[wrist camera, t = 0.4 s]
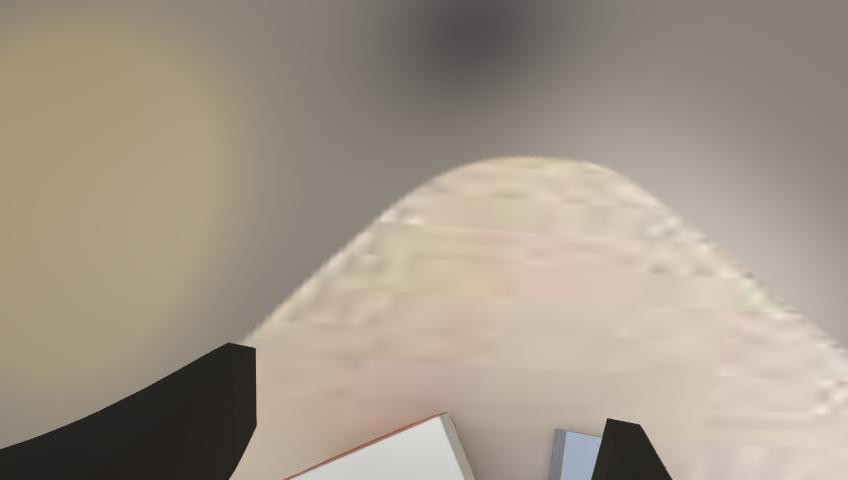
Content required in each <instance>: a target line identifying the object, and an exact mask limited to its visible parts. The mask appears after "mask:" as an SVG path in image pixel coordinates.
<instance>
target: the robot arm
mask: <svg viewBox="0 0 848 480" xmlns="http://www.w3.org/2000/svg"><path fill="white" fill-rule="evenodd" d="M256 426H257V419H256V348H253V347H248V346H243V345H238V344H232V343H227V344H225V345H223V346H221V347H219V348H217V349H215V350H213V351H211V352H210V353H208V354H206V355H204V356H202V357H200V358H199V359H197V360H195V361H193V362H192V363H190V364H188V365H186V366H184V367H183V368H181V369H179V370H178V371H176V372H174V373H172V374H170V375H168V376H166V377H165V378H163V379H161V380H159V381H157V382H156V383H154V384H152V385H150V386H148V387H147V388H144V389H142V390H141V391H138V392H136V393H134V394H132V395H130V396H128V397H126V398H124V399H122V400H120V401H118V402H116V403H114V404H112V405H110V406H108V407H106V408H104V409H102V410H100V411H99V412H96V413H94V414H91V415H89V416H87V417H85V418H83V419H80V420H78V421H75V422H73V423H71V424H68V425H66V426H63V427H61V428H58V429H56V430H54V431H51V432H49V433H46V434H44V435H41V436H38V437H35V438H33V439H30V440H27V441H24V442H21V443H18V444H15V445H12V446H9V447H6V448H3V449H0V480H229V479H230V477H231V475H232V474H233V472H234V471H235V469H236V467H237V465H238V463H239V461H240V459H241V458H242V456H243V454H244V452H245V450H246V448H247V445H248V443H249V441H250V439H251V437H252V435H253V433H254V431H255V429H256ZM591 480H672V478H671V477H670V475H669V473H668V471H667V470H666V468H665V466H664V465H663V463H662V461H661V460H660V458H659V456H658V454H657V453H656V451H655V449H654V447H653V446H652V444H651V442H650V440H649V439H648V437H647V435H646V433H645V432H644V430H643V429H642V427H641V426H640V425H639V424H634V423H629V422H624V421H619V420H614V419H609V418H607V422H606V425H605V429H604V433H603V437H602V440H601V444H600V448H599V452H598V455H597V459H596V463H595V467H594V470H593V474H592V478H591Z"/></svg>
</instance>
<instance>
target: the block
mask: <svg viewBox="0 0 848 480" xmlns="http://www.w3.org/2000/svg"><path fill="white" fill-rule="evenodd" d="M601 440H602V438H601V437H596V436H591V435H586V434H580V433H575V432H570V431H565V430H560V429H556V432H555V440H554V447H553V455H552V463H551V470H550V478H549V480H591V478H592V474H593V470H594V467H595V463H596V459H597V455H598V452H599V448H600V444H601Z"/></svg>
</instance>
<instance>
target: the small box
mask: <svg viewBox="0 0 848 480" xmlns="http://www.w3.org/2000/svg"><path fill="white" fill-rule="evenodd" d="M284 480H476V479H475V476H474V474H473V471H472V469H471V466H470V464H469V461H468V459H467V457H466V454H465V452H464V449H463V447H462V444H461V442H460V439H459V437H458V434H457V432H456V430H455V427H454V425H453V422H452V420H451V418H450V415H449V413H448V412H445V413H442V414H439V415H435V416H432V417H429V418H427V419H424V420H422V421H419V422H417V423H414V424H411V425H409V426H406V427H404V428H402V429H399V430H397V431H394V432H392V433H390V434H387V435H385V436H382V437H380V438H378V439H375V440H373V441H371V442H368V443H366V444H364V445H361V446H359V447H357V448H355V449H352V450H350V451H348V452H345V453H343V454H341V455H338V456H336V457H334V458H332V459H329V460H327V461H325V462H323V463H320V464H318V465H316V466H314V467H312V468H309V469H307V470H305V471H303V472H301V473H298V474H296V475H293V476H291V477H288V478H286V479H284Z"/></svg>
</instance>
